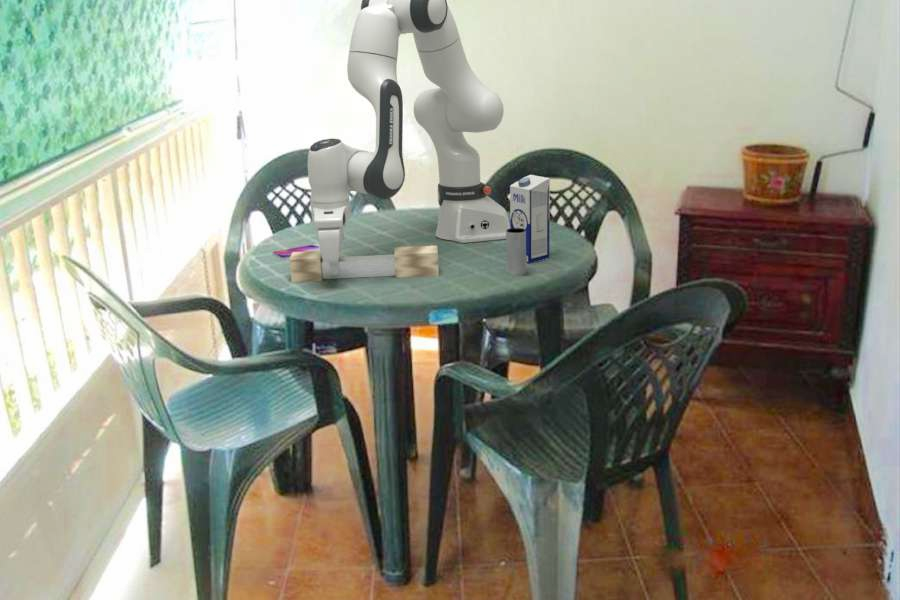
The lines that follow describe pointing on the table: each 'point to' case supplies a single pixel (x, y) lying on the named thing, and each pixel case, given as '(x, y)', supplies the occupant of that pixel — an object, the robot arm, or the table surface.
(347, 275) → the slip tube
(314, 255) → the beige wooden block
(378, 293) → the table surface
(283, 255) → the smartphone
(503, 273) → the table surface
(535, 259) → the milk carton
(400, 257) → the sleeve
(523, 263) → the grey cylinder
